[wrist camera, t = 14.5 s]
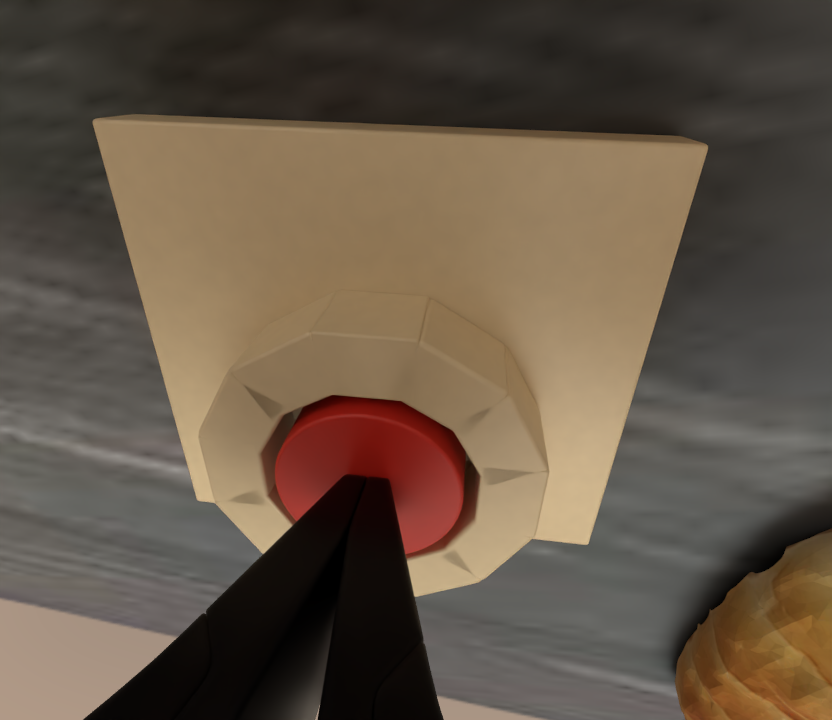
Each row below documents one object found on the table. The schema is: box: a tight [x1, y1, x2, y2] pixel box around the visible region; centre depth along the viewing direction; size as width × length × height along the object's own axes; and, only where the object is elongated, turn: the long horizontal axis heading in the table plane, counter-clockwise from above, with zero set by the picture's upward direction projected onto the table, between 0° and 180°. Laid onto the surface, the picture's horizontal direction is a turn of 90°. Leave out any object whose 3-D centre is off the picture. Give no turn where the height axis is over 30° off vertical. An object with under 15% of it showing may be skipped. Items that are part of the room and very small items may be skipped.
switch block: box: [93, 114, 708, 597], centre depth 10 cm, size 10×9×3 cm
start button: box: [275, 395, 466, 554], centre depth 10 cm, size 4×4×2 cm
